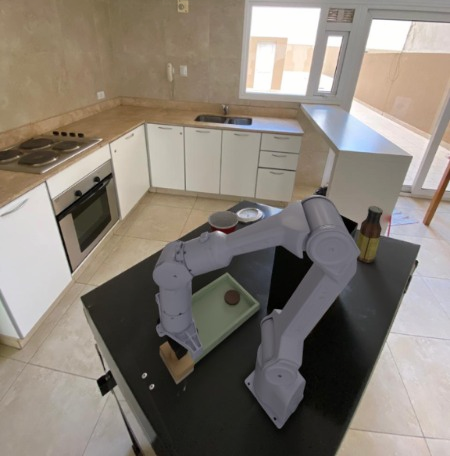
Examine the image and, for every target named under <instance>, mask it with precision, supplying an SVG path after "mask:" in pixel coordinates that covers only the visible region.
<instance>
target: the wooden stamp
mask: <svg viewBox="0 0 450 456" xmlns="http://www.w3.org/2000/svg"><path fill="white" fill-rule="evenodd" d="M159 356H160V358H161V359H162V361H163V363H164V365H165V367H166V369H167V370H168V372H169V374H170V375H171V377H172V379H173V381H174V383H175V384H176V385H178V384H179V383H181V382H182V381H183V380H184V379H185V378H187V377H188V376H189V375H190V374H192V373H193V372H194V371H195V370H194V369H195V368H194V367H195V364H194V361H193V360H192V358H191V357H190V355H189V354H188V352H187V354H186V355H185V356H184V357H182V358H181V359H180V360H178V359H177V357H176V355H175V352H174V351H173V350H172V348H171V347H170V345H169V343H168V341H167V340H166V341H165V342H164V343H162V344H161V345H160V346H159Z"/></svg>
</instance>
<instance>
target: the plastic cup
mask: <svg viewBox="0 0 450 456" xmlns="http://www.w3.org/2000/svg"><path fill="white" fill-rule="evenodd" d="M239 220H240V218H239V215H238V214H236V213H235V212H233V211H228V210H219V211H215V212H212V213H211V214H210V215H209V216H208V217H207V222H208V224H209V226H210V229H211V233H212V232H215V231H221V232H223V233H225V234H227V235H228V234H230V233H232V232H235V231H236V229H237V225H238V223H239Z"/></svg>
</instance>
